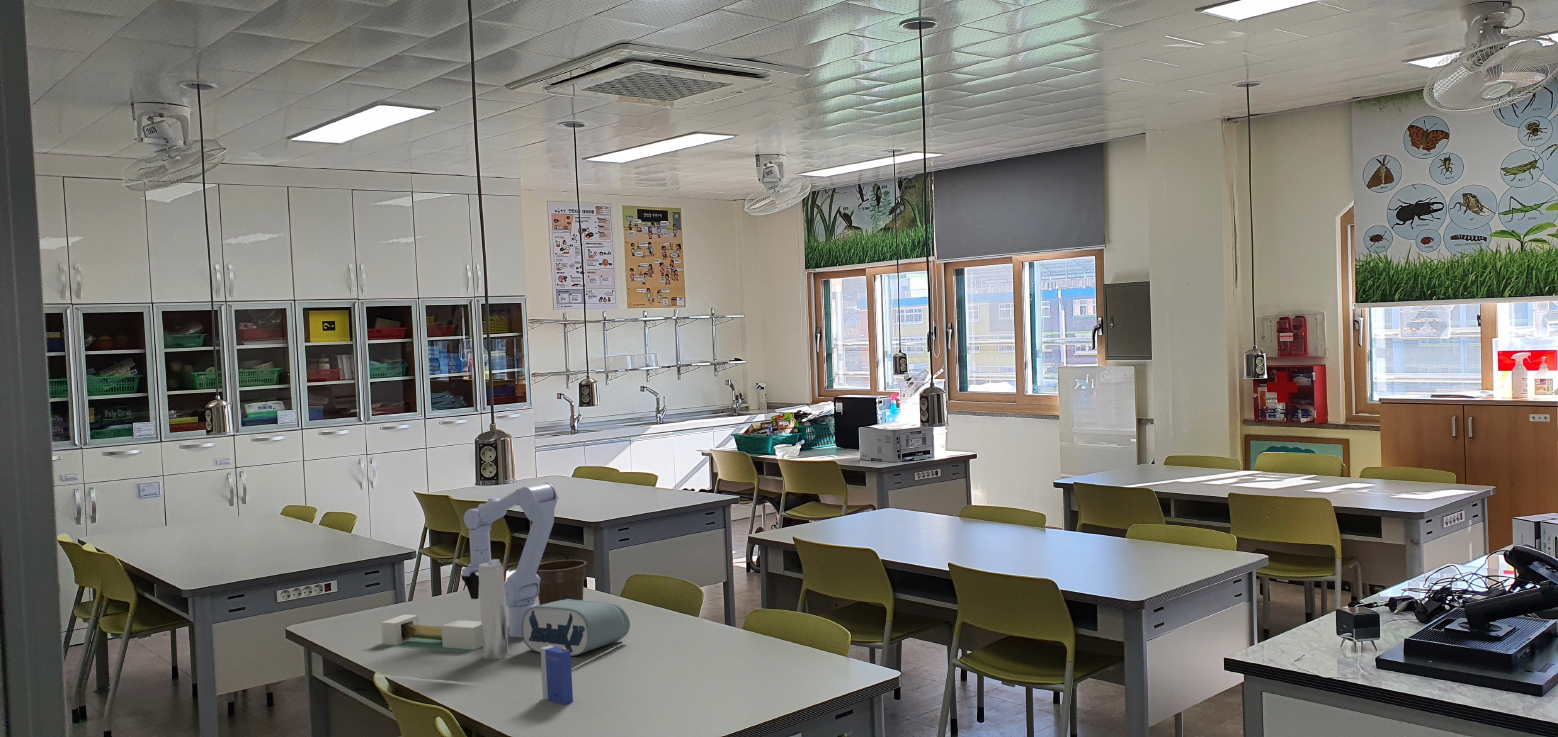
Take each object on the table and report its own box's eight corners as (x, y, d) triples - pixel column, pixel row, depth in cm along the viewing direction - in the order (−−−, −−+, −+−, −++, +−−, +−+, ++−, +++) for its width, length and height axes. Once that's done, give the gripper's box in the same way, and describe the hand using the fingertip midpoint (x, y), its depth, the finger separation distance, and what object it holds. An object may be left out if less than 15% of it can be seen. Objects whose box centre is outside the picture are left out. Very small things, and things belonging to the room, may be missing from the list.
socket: (419, 636, 312) (418, 615, 312) (396, 644, 304) (395, 623, 304) (405, 635, 314) (404, 614, 314) (382, 643, 306) (381, 622, 306)
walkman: (573, 701, 248) (570, 648, 247) (563, 704, 246) (560, 651, 245) (552, 695, 253) (549, 643, 253) (542, 698, 251) (539, 646, 251)
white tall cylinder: (502, 661, 283) (496, 565, 283) (478, 661, 284) (473, 565, 284) (513, 654, 289) (507, 560, 289) (490, 654, 291) (484, 560, 290)
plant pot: (529, 616, 332) (526, 563, 331) (581, 608, 338) (578, 556, 338) (541, 627, 317) (537, 572, 317) (595, 619, 324) (592, 565, 323)
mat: (496, 642, 303) (496, 640, 303) (468, 654, 292) (468, 652, 292) (406, 635, 316) (406, 633, 316) (376, 647, 305) (375, 645, 305)
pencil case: (521, 653, 290) (520, 604, 290) (567, 638, 307) (566, 592, 307) (588, 660, 280) (587, 609, 280) (632, 644, 296) (631, 596, 297)
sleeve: (489, 643, 300) (488, 621, 300) (474, 649, 295) (473, 627, 294) (458, 640, 305) (456, 619, 305) (442, 646, 299) (441, 625, 299)
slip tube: (465, 639, 302) (464, 625, 302) (455, 643, 299) (455, 629, 299) (406, 635, 311) (405, 621, 310) (396, 638, 307) (395, 625, 307)
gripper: (485, 544, 326) (487, 589, 327) (452, 553, 313) (455, 600, 313) (504, 544, 324) (507, 590, 324) (472, 554, 310) (475, 601, 311)
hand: (483, 595), depth 318 cm, fingers open, 7 cm apart
